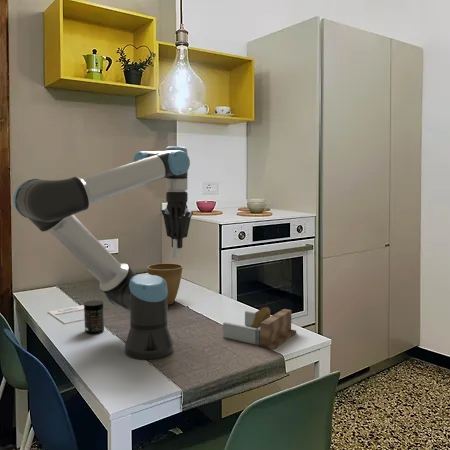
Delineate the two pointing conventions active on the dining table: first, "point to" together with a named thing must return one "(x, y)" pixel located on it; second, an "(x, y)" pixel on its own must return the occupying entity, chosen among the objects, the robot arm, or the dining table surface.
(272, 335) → the wall
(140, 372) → the dining table surface
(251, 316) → the tray
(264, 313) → the rock
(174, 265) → the plant pot
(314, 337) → the dining table surface
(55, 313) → the photo frame
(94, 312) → the supplement container
